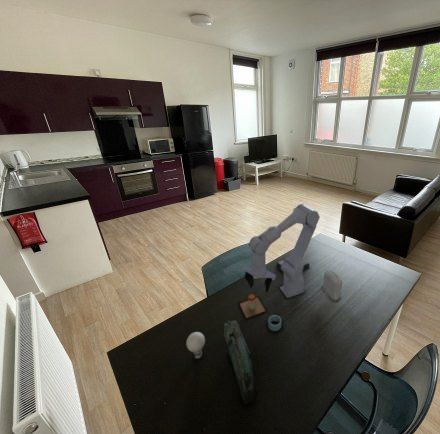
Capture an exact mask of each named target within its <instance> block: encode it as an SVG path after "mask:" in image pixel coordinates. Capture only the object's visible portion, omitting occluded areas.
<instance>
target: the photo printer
mask: <svg viewBox="0 0 440 434" xmlns="http://www.w3.org/2000/svg"><path fill="white" fill-rule="evenodd" d="M342 287H343V280H342V278H341V277H340V276H339V274H338V273H337V272H336V271H335V270H333V269H332V268H326V269H325V271H324V274H323V282H322V288H323V290H324V291H325V293H326V294H327V295H328V296H329V297H330V298H331V299H332V300H333V301H338V300H339V298H340V297H341V291H342Z"/></svg>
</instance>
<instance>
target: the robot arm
mask: <svg viewBox="0 0 440 434" xmlns="http://www.w3.org/2000/svg"><path fill="white" fill-rule="evenodd" d="M320 218H321V217H320V214H319V212H318V211H317V210H314V209H313V208H311V207H308V206H307V205H305V204H304V203H300V204H298V205H296V206H295V207H294V208H293V210H292V212H291V213H290V214H289V215H288V216H287V217H286V218H284V219H283V220H282V221H281V222H280V223H278V225H271V226H269V227H267V229H266V230H264V231H263V232H262V233H260V234H259V235H255V236H253V237H251V238H250V239H249V242H248V244H247V245H248V247H250V250H251V266H244V267H243V268H242V273H243V274H244V279H245V280H246V281H247V283H248V285H249V288H253V286H254V283H255V281H254V280H258V279H264V285H265V293H268V292H269V290H270V287H271V284H272V282H274V281H275V280H276V274H275V273H273V272H271V271H269V270H268V269H267V266H266V265H267V264H266V263H267V262H266V260H267V259H266V253H267V252H268V250H269V248H270V246H271V245H272V244H274V243H275V242H276V241H277V240H279V239H280V238H281V236H282V233H283V232H285V231H287V230H288V229H290V228H291V227H293V226H295V225H296V224H300V225H302V228H301V230H300V233H299V235H298V238H297V240H296V242H295V244H294V248H293V250H292V252H291V254H290V256H286V257H285V261H284V262H283V263H282V265H281V270H282V271H283V273H282V274H283V285H282V286H279V289H280V290H281V292H282V293H283V295H284V296H285V297H286V298H287V299H290V298H291V297H295V296H297V295H300V294H304V292H305V291H304V286H305V285H304V284H305V283H304V282H305V280H304V279H305V278H304V276H303V271H302V270H303V264H302V259H304V256H305V253H306V251H307V249H308V247H309V245H310V242H311V240H312V238H313V236H314V233H315V231H316V228H317V225H318V223H319V220H320Z"/></svg>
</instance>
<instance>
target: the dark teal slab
mask: <svg viewBox="0 0 440 434" xmlns="http://www.w3.org/2000/svg"><path fill="white" fill-rule="evenodd" d="M223 336H224V339H225V343H226V344H227V347H228V348H227V349H228V355H229V359H230V362H231V363H232V366H233V370H234V373H235V376H236V379H237V384H238V387H239V390H240V395H241V399H242V402H243V403H244V405H248V404H249V403H251V402H254V398H255V380H254V373H253V372H254V371H253V362H252V356H251V355H252V354H251V352H250V349H249V347H248V344H247V342H246V340H245V337H244V335H243V333H242V330H241V327H240V324H239V322H238V321H237V320H228V319H226V322H224V324H223Z"/></svg>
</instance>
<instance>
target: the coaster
mask: <svg viewBox="0 0 440 434" xmlns="http://www.w3.org/2000/svg"><path fill="white" fill-rule="evenodd" d="M239 306H240V308H241V310H242V312H243V314H244V317H245V319H248V318H251V317H254V316H257V315H259V314H262V313H265V312H266V309H265V308H264V305H263V304H262V302H261V301H260V299H259V297H255V308H254V309H250V308H249V300H246V301H243V302H241V303H239Z"/></svg>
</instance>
